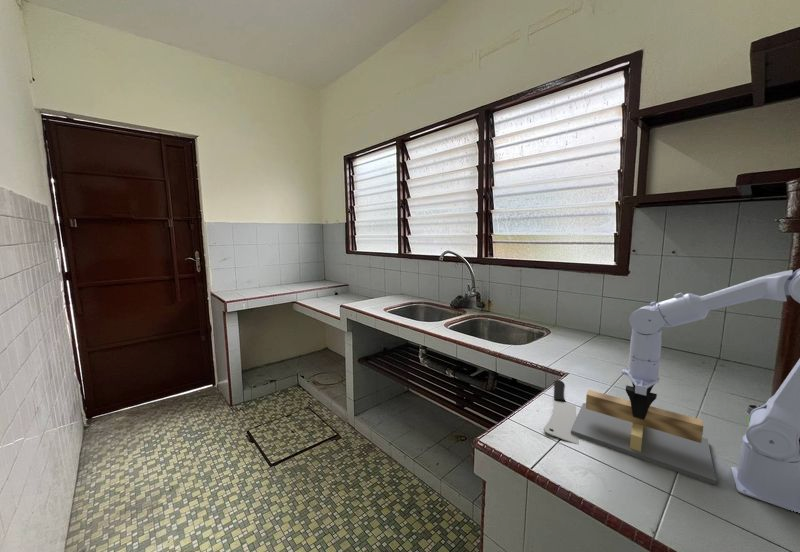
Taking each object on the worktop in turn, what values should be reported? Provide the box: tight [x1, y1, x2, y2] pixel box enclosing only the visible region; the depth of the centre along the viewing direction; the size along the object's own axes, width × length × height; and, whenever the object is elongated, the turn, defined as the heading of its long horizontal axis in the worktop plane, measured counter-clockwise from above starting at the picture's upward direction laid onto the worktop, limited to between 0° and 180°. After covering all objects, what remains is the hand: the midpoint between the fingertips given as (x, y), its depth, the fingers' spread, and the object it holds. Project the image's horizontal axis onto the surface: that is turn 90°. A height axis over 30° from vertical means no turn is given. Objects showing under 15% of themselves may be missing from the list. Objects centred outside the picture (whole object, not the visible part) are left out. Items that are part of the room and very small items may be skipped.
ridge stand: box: [571, 402, 717, 486], centre depth 77 cm, size 26×16×4 cm, turn 50°
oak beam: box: [585, 389, 704, 443], centre depth 76 cm, size 22×3×4 cm, turn 50°
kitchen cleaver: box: [543, 379, 580, 445], centre depth 90 cm, size 31×2×10 cm
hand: (639, 410), depth 76 cm, fingers open, 7 cm apart
